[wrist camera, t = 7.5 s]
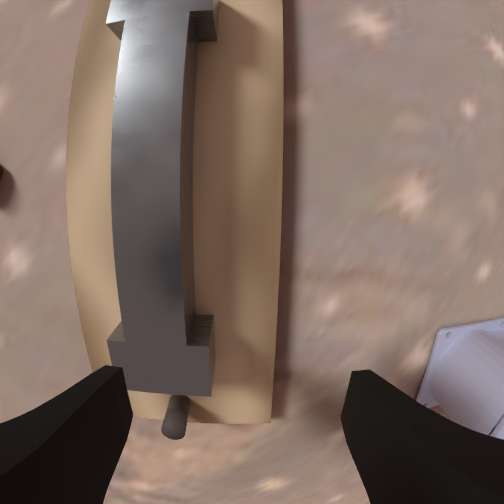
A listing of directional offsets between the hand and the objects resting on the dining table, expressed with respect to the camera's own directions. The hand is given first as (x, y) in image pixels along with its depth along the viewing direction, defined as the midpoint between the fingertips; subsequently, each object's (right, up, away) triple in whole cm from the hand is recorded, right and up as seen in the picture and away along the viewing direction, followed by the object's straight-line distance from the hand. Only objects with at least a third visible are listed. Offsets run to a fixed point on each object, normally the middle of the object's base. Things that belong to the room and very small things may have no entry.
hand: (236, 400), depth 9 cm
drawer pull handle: (-4, +8, +6) cm, 11 cm away
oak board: (-4, +9, +8) cm, 12 cm away
